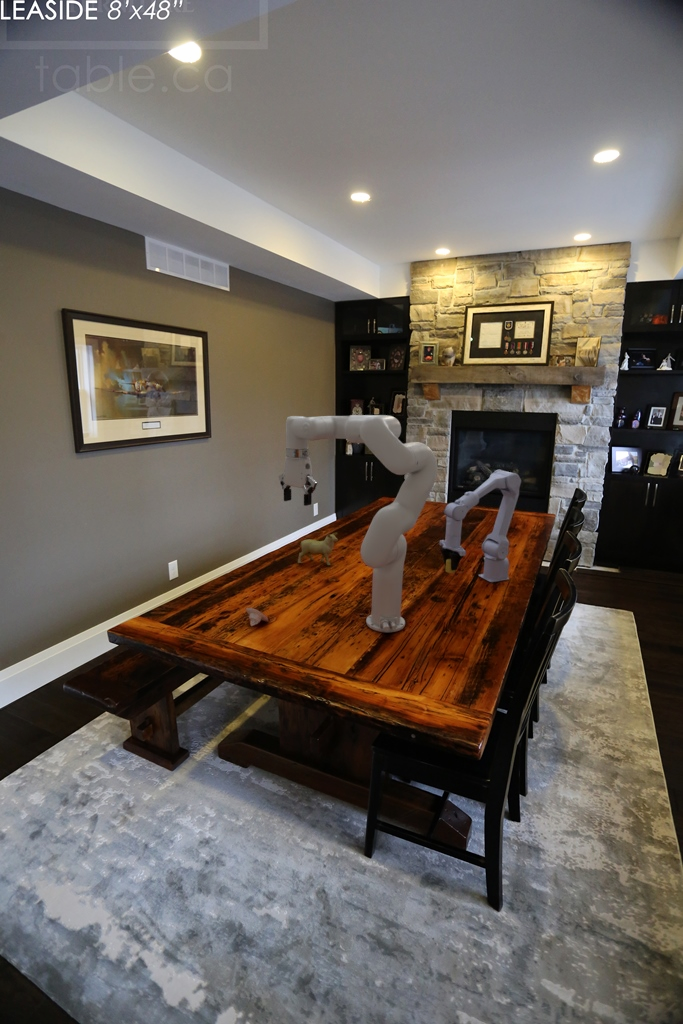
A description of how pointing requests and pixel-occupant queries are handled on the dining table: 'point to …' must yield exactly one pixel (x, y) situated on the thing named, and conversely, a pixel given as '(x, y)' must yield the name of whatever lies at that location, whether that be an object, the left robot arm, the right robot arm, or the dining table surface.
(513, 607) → the dining table surface
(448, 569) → the tin
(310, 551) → the toy
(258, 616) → the seashell
